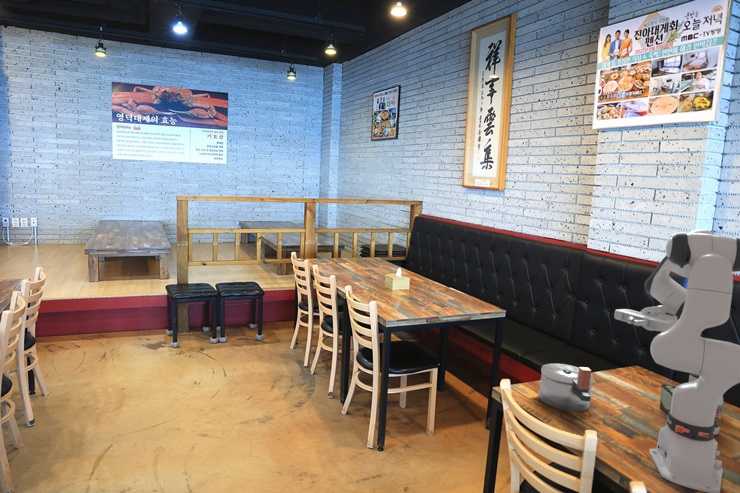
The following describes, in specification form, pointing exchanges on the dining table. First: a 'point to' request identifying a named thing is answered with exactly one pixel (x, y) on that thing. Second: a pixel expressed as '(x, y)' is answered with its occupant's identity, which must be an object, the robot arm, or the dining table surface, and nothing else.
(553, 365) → the lid
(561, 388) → the cooker pot
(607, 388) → the dining table surface
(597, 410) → the dining table surface
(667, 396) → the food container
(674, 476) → the robot arm
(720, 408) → the milk bottle
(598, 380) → the dining table surface
